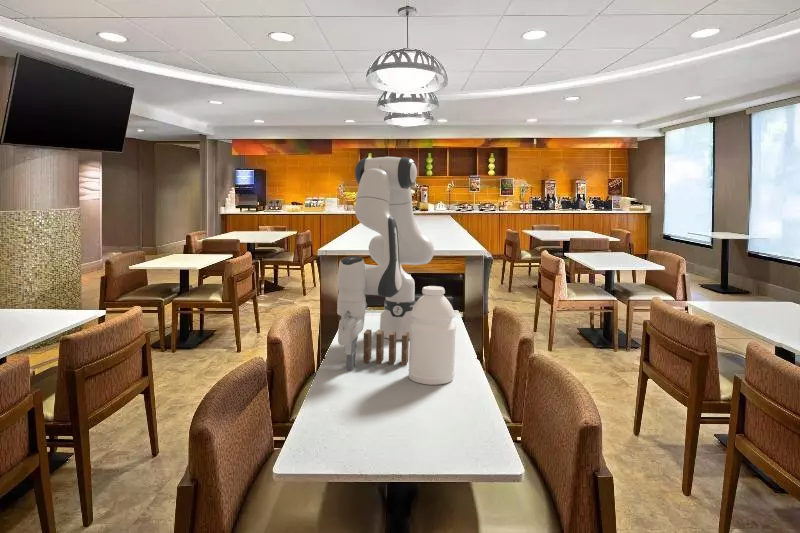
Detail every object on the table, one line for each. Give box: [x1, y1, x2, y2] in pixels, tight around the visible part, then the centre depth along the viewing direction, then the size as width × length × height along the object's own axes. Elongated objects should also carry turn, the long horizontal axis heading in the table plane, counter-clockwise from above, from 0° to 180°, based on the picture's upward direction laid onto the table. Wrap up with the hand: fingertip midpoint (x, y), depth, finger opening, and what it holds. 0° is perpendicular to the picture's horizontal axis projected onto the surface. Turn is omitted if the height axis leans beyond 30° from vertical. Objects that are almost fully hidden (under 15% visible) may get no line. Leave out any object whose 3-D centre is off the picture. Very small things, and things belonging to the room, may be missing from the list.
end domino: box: [346, 338, 356, 372], centre depth 186 cm, size 2×5×10 cm, turn 171°
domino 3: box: [388, 331, 397, 366], centre depth 193 cm, size 2×5×10 cm, turn 172°
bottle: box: [408, 285, 457, 386], centre depth 177 cm, size 14×14×28 cm
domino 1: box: [362, 328, 372, 364], centre depth 194 cm, size 2×5×10 cm, turn 172°
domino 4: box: [400, 332, 410, 366], centre depth 192 cm, size 2×5×10 cm, turn 171°
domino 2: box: [375, 329, 385, 365], centre depth 193 cm, size 2×5×10 cm, turn 171°
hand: (351, 351), depth 186 cm, fingers closed on end domino, 5 cm apart
